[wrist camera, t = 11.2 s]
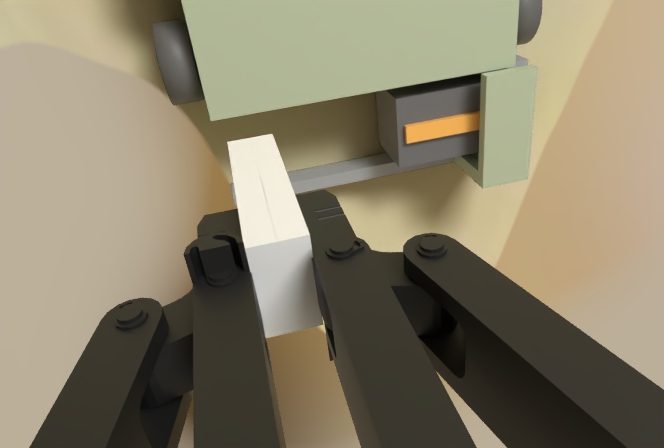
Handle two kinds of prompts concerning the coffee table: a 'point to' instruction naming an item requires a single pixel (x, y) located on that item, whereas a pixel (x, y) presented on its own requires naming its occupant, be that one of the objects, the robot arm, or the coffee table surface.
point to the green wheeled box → (358, 67)
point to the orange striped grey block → (430, 120)
